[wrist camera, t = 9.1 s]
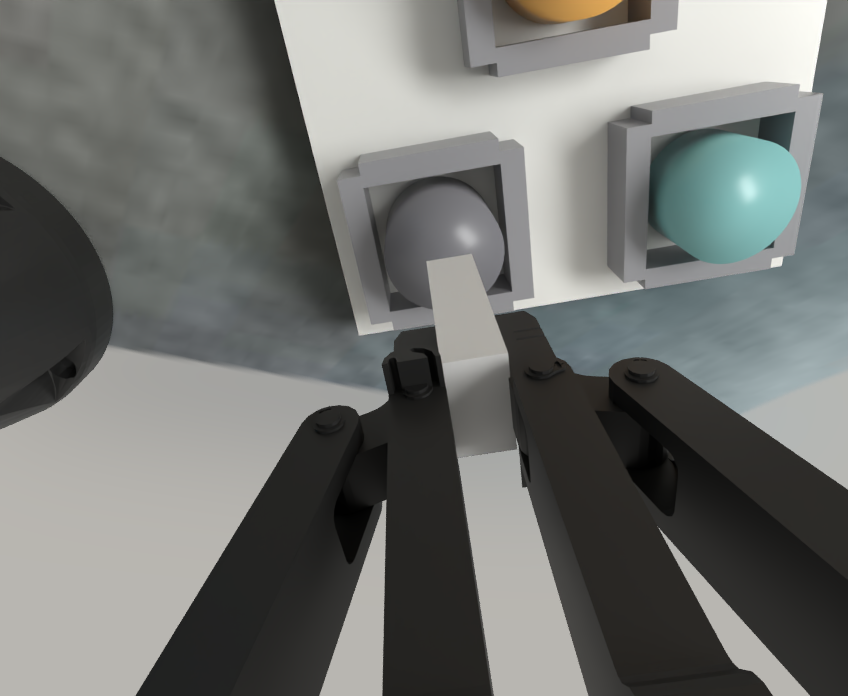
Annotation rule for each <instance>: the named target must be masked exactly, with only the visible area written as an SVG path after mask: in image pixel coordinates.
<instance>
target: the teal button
mask: <svg viewBox="0 0 848 696" xmlns="http://www.w3.org/2000/svg"><path fill="white" fill-rule="evenodd" d="M800 193H801V176H800V171H799V168H798V165H797V163H796V161H795V159H794V158H793V156H792V155H791V154H790V153H789V152H788V151H787V150H786V149H785V148H783V147H782V146H780V145H778V144H776V143H773V142H770V141H766V140H762V139H758V138H754V137H750V136H745V135H741V134H737V133H733V132H729V131H724V130H720V129H711V128H707V129H699V130H695V131H692V132H689V133H686V134H684V135H682V136H680V137H678V138H677V139H675V140H674V141H672V142H671V143H670V144H669V145H667V146H666V147H665V148H664V149H663V150H662V151H661V152H660V153H659V154H658V156H657V157H656V158H655V159H654V161H653V162H652V164H651V166H650V181H649V206H648V222H649V224H650V225H651V226H652V227H653V228H654V229H655V230H656V231H657V232H659V233H660V234H662V235H663V236H665V237H666V238H667V239H669V240H670V241H672V242H673V243H675V244H676V245H678V246H679V247H680V248H682V249H683V250H685V251H686V252H688V253H689V254H691V255H692V256H693V257H695V258H697V259H699V260H701V261H704V262H707V263H712V264H729V263H734V262H738V261H741V260H744V259H747V258H749V257H751V256H753V255H755V254H757V253H759V252H760V251H762V250H763V249H765V248H766V247H767V246H769V245H770V244H771V243H772V242H773V241H774V240H775V239H776V238H777V237H778V236H779V235H780V234H781V233H782V232H783V230H784V229H785V228H786V227H787V225H788V223H789V222H790V220H791V219H792V217H793V215H794V213H795V211H796V208H797V205H798V202H799V198H800Z"/></svg>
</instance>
